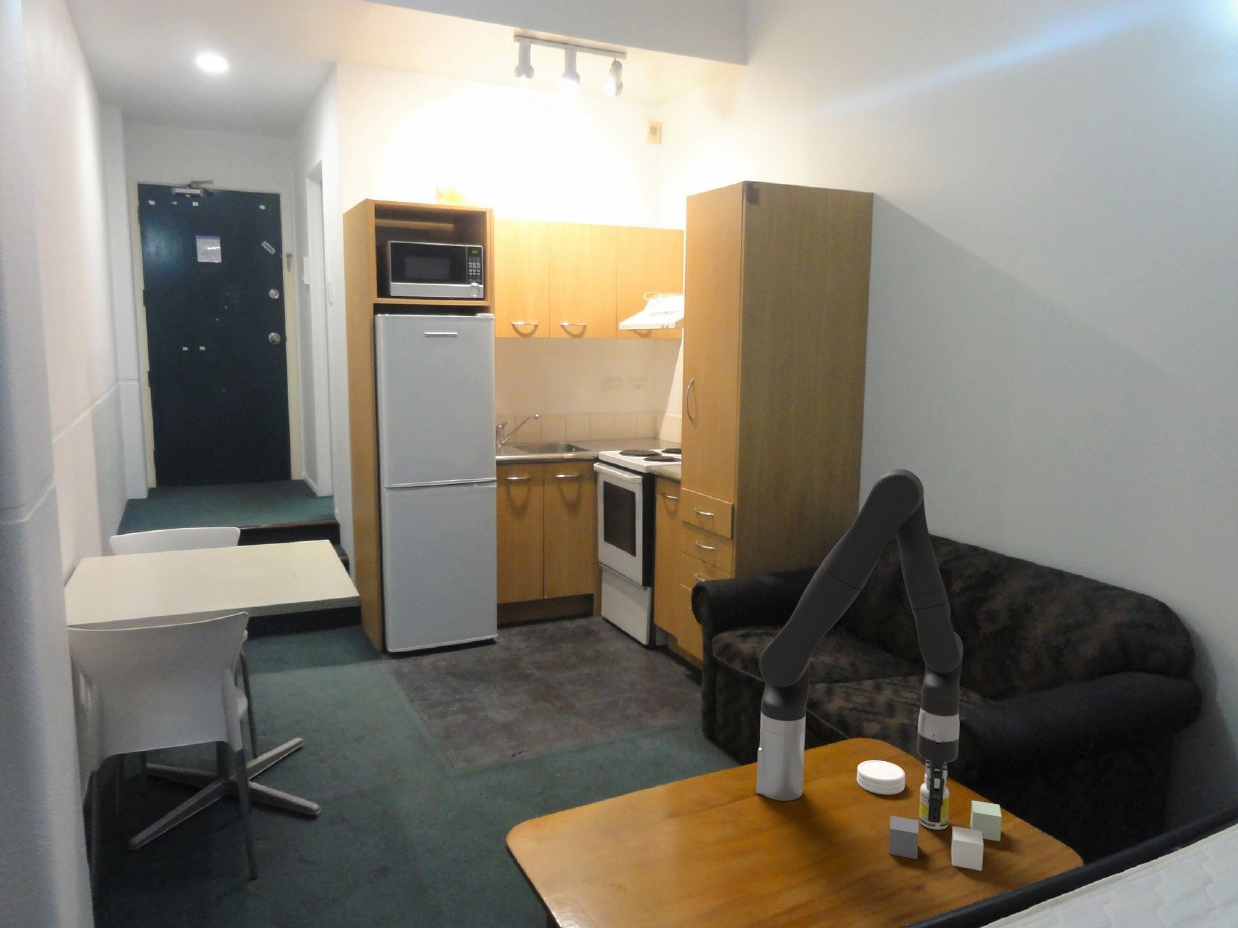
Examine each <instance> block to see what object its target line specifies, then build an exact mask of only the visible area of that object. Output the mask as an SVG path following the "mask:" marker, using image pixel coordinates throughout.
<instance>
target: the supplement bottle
mask: <svg viewBox="0 0 1238 928" xmlns="http://www.w3.org/2000/svg"><path fill="white" fill-rule="evenodd" d="M923 781H924V783H922V784H921V785H920V789H919V790H920V791H919V811H918V813H919V814H918V822H919V823H920V824H921V825H922V826H923V827H926V828H928V829H931V830H935V831H938V830H939V831H940V830H945V829H946V828H947V827H948V825H949V806H950V804H949V803H950V791H949V789H948V786H946V785H947V783H946V784H945V792H944V793H943V805H942V807H941V817H940V823H934V822H930V821H929V820H928V812H929V802H928V799H929V791H928V790H927V788H926V785H927V774H926V773H924V779H923ZM932 797H934V798H939V796H935V795H933V796H932Z"/></svg>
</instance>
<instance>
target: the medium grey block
mask: <svg viewBox="0 0 1238 928" xmlns="http://www.w3.org/2000/svg"><path fill="white" fill-rule="evenodd" d="M889 819H890V821H889V838H888V839H889V841H888V843H889V844H888V854H889V855H894V856H899V857H905V858H909V859H910V858H911V859H915V860H918V853H919V851H918V850H919V849H918V847H919V829H920V828H919V819H913V818H906V817H900V816H894V815H890V818H889Z"/></svg>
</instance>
